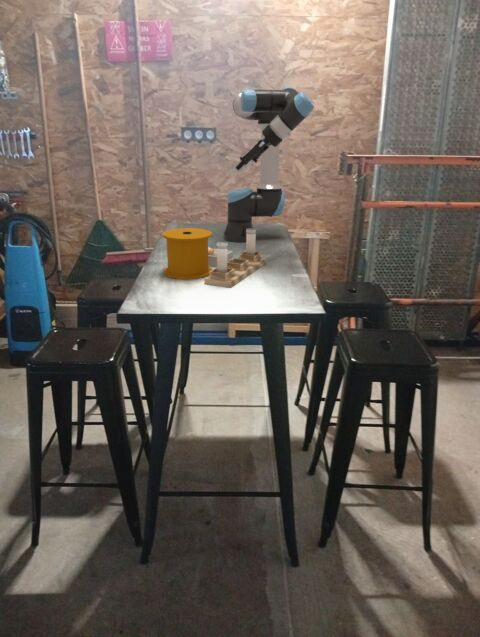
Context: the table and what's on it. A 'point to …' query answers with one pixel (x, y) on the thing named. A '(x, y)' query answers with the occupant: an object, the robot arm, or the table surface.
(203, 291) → the table surface
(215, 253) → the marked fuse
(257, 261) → the fuse block
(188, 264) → the spool
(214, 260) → the tray
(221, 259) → the fuse
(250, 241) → the fuse
